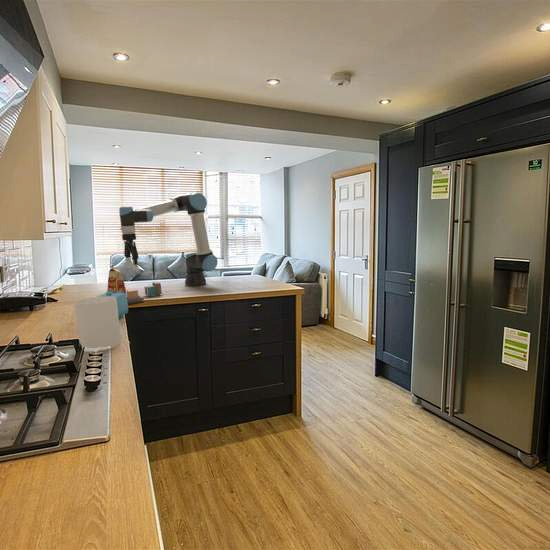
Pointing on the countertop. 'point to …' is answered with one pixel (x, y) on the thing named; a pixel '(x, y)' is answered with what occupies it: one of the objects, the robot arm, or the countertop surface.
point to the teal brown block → (153, 289)
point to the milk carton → (115, 281)
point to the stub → (132, 294)
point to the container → (98, 322)
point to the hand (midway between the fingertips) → (132, 269)
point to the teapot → (119, 302)
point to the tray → (135, 300)
